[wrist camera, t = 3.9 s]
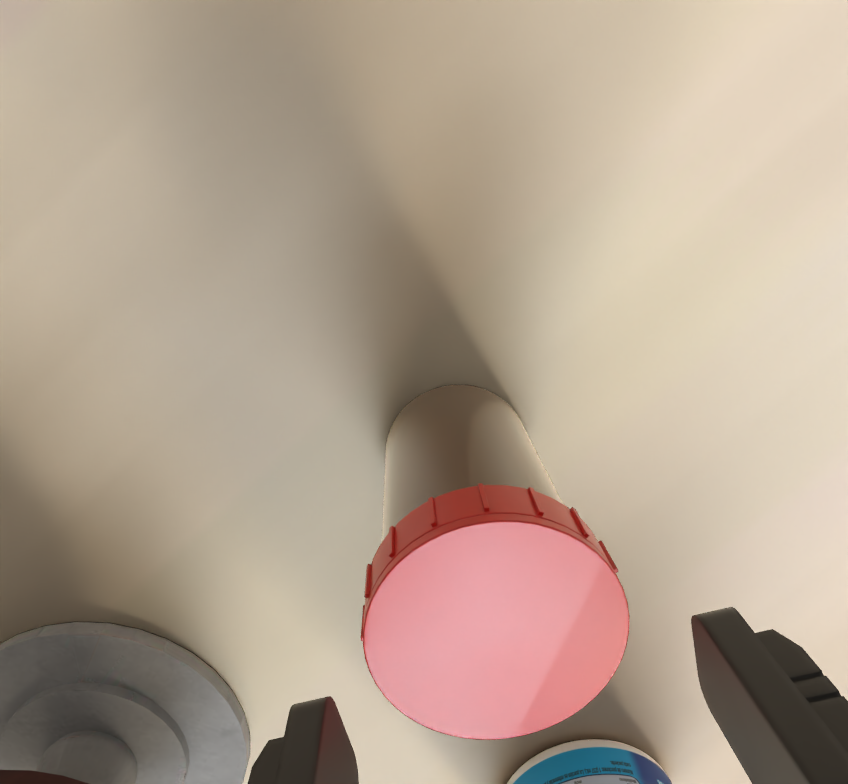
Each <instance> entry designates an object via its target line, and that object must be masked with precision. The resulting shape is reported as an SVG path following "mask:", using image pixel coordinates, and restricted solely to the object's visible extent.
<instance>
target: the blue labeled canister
mask: <svg viewBox="0 0 848 784" xmlns="http://www.w3.org/2000/svg"><path fill="white" fill-rule="evenodd" d="M507 784H672V783H671V781H670V779H669V777H668V775H667V774H666V772H665V771H664V770H663V768H662V767H661V766H660V765H659V764H658V763H657V762H656V761H655V760H654V759H653V758H651V757H650V756H649V755H647V754H646V753H644V752H643V751H641V750H639V749H637V748H635V747H633V746H630V745H627V744H624V743H621V742H616V741H611V740H601V739H588V740H578V741H572V742H568V743H564V744H560V745H557V746H554V747H552V748H549V749H547V750H545V751H543V752H541V753H539V754H537V755H536V756H534V757H533V758H531V759H530V760H528V761H527V762H526V763H525V764H523V765H522V766H521V767H520V768H519V769H518V770H517V771H516V772H515V773H514V774H513V776H512V777H511V778H510V780H509V781H508V783H507Z"/></svg>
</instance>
